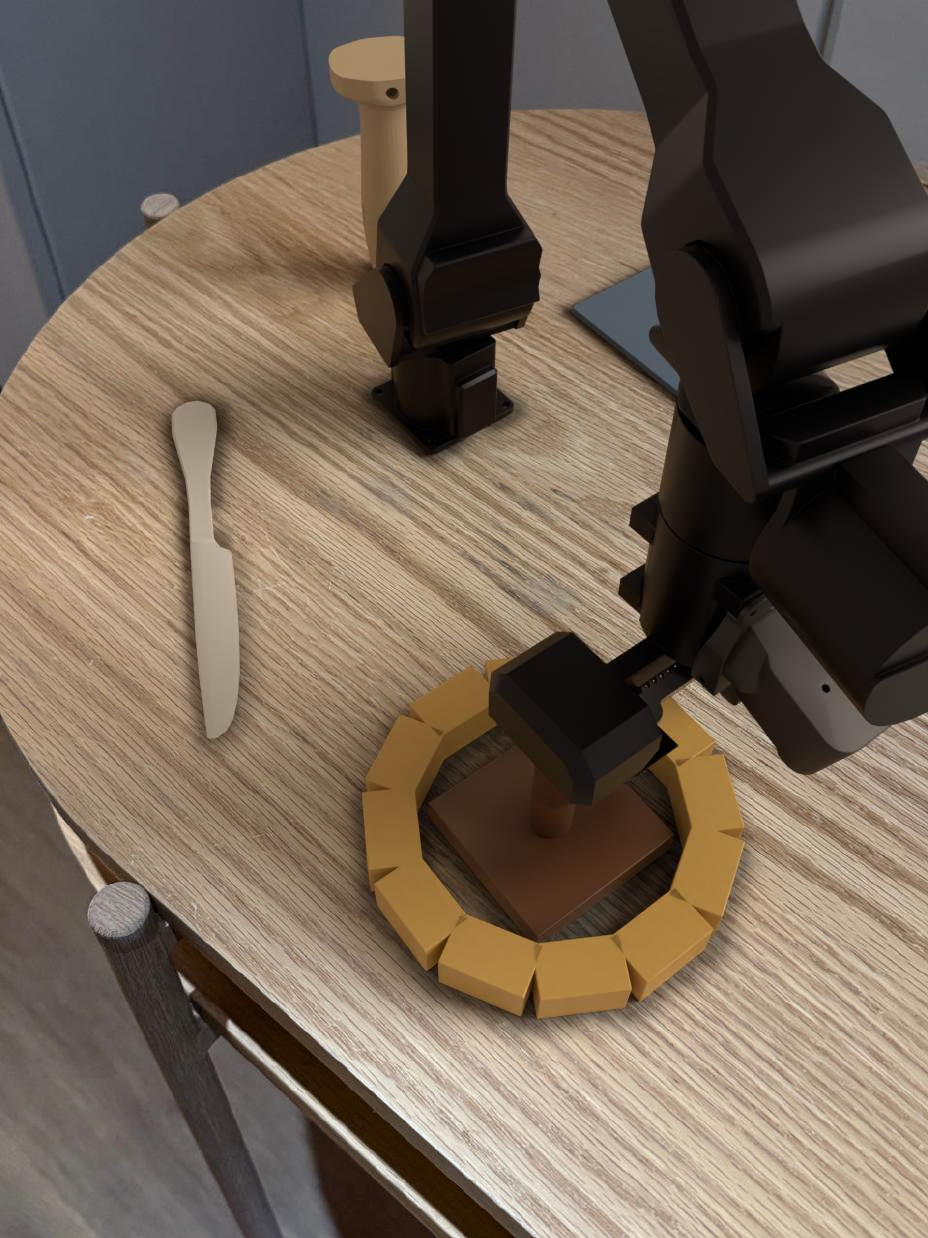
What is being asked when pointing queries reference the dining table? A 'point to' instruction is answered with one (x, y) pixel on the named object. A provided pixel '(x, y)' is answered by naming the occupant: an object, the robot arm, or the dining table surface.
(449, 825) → the post
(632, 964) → the ring
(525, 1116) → the dining table surface
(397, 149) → the handle
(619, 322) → the mat
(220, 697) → the butter knife
